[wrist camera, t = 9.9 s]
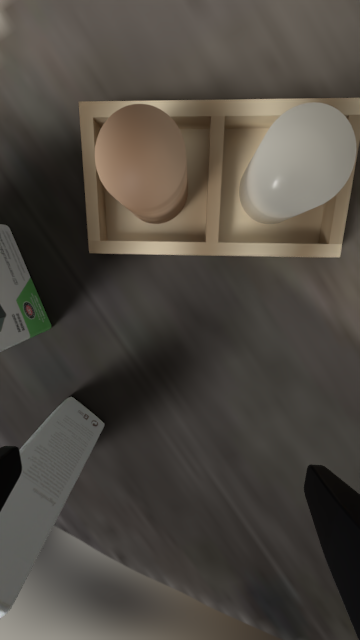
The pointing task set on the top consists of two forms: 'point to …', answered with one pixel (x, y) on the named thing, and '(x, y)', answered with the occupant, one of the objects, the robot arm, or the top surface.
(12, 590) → the skincare box
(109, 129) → the brown egg
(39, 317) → the ink box
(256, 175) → the cream egg
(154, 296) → the top surface
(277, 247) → the egg tray
